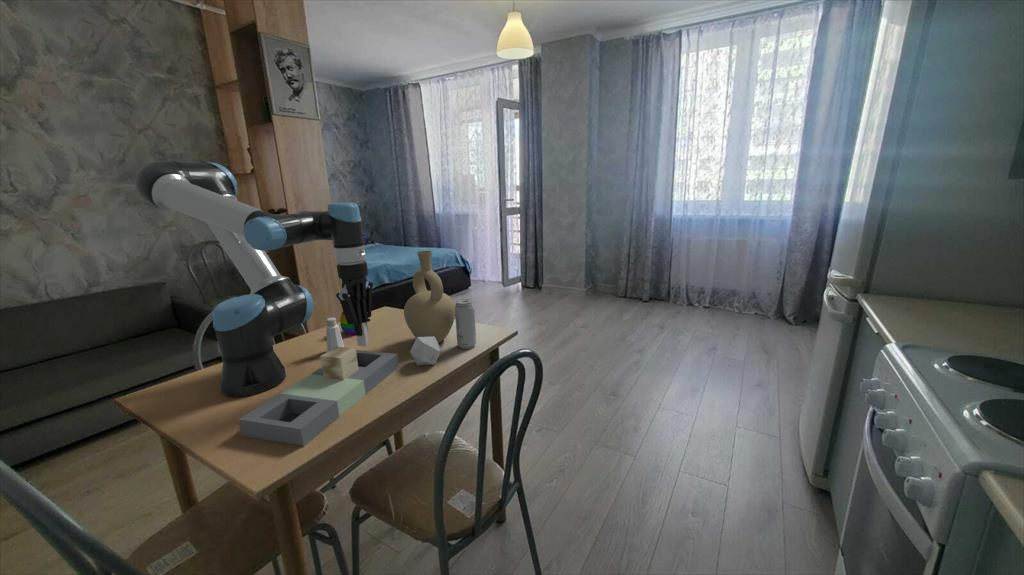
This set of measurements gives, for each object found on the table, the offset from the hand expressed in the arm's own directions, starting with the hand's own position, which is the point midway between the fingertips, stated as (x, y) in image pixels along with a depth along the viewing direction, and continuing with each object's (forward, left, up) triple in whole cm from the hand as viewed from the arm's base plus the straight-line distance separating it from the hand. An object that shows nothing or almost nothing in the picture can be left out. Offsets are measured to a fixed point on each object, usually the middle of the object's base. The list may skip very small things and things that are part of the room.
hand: (363, 344), depth 114 cm
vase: (+9, +24, -8) cm, 27 cm away
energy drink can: (+22, +22, -8) cm, 32 cm away
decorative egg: (-23, +26, -8) cm, 36 cm away
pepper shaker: (-18, +10, -8) cm, 22 cm away
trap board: (0, -14, -8) cm, 16 cm away
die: (+15, +8, -8) cm, 19 cm away
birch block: (0, -10, -4) cm, 11 cm away
